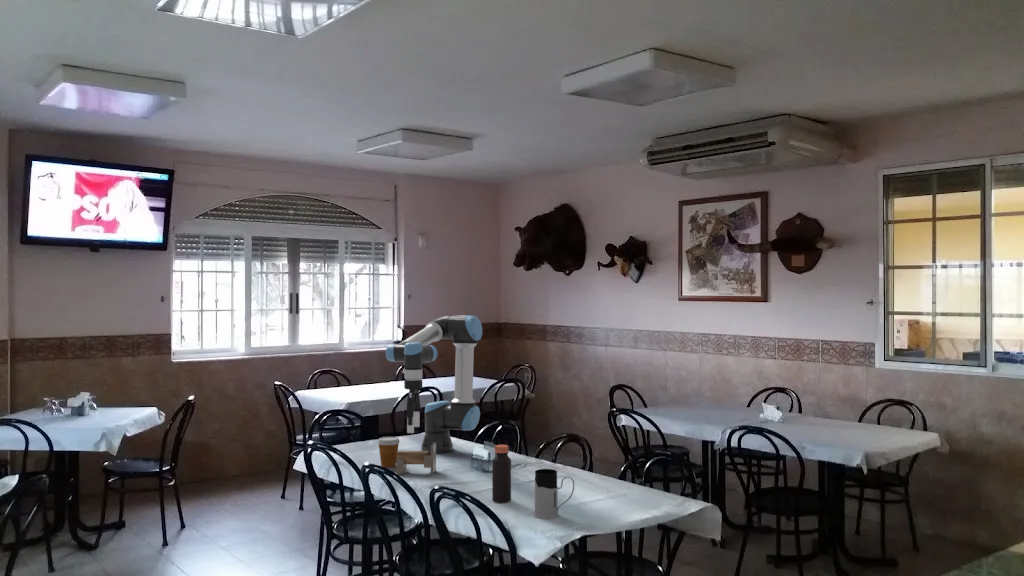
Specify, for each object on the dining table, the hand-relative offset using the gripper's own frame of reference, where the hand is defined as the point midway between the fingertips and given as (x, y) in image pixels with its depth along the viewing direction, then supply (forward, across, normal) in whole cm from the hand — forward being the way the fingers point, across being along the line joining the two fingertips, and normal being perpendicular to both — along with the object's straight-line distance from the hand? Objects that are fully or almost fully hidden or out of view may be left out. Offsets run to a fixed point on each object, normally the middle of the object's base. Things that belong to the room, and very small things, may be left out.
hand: (413, 429), depth 329 cm
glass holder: (+18, +59, +59) cm, 85 cm away
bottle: (+18, +41, +40) cm, 60 cm away
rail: (+14, 0, 0) cm, 14 cm away
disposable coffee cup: (+18, -12, -13) cm, 25 cm away
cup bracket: (+18, 0, +7) cm, 19 cm away
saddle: (+18, 0, -5) cm, 19 cm away
